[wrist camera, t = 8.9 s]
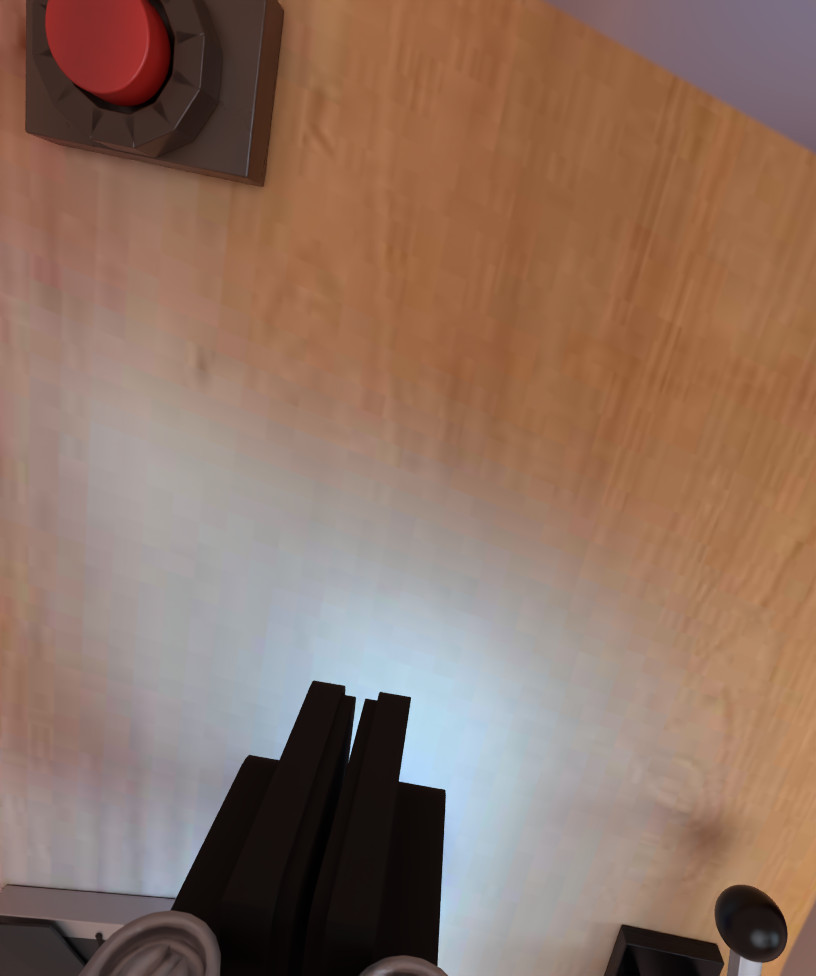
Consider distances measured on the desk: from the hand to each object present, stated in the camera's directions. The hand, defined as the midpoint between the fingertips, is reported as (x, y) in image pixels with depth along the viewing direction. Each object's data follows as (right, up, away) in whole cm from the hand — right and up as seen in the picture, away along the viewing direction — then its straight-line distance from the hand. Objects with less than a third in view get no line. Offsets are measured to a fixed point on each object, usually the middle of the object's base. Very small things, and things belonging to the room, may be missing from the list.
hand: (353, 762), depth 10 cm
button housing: (-10, +23, +17) cm, 30 cm away
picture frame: (-19, -33, +36) cm, 52 cm away
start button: (-10, +22, +14) cm, 28 cm away
